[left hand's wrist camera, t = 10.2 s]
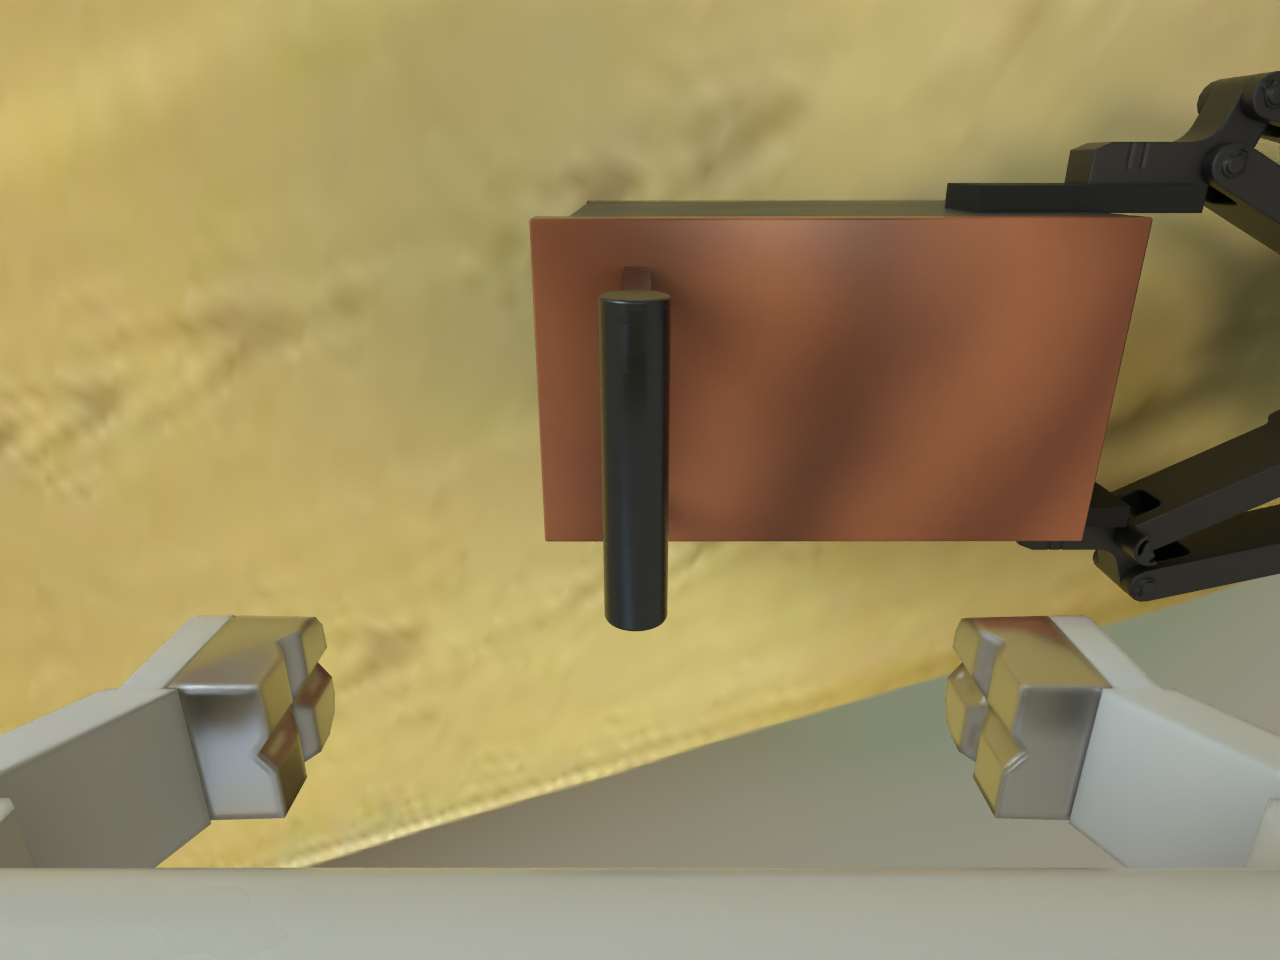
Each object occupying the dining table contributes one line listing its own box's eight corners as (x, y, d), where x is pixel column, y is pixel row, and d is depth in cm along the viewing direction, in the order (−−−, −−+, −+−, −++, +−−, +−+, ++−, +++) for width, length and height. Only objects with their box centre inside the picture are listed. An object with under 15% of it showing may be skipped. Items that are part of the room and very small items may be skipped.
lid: (548, 529, 25) (512, 673, 18) (533, 216, 22) (481, 241, 15) (1068, 528, 25) (1235, 672, 18) (1134, 215, 22) (1373, 240, 15)
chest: (593, 434, 34) (577, 529, 25) (588, 200, 31) (566, 215, 22) (956, 434, 34) (1067, 528, 25) (991, 199, 31) (1133, 215, 22)
